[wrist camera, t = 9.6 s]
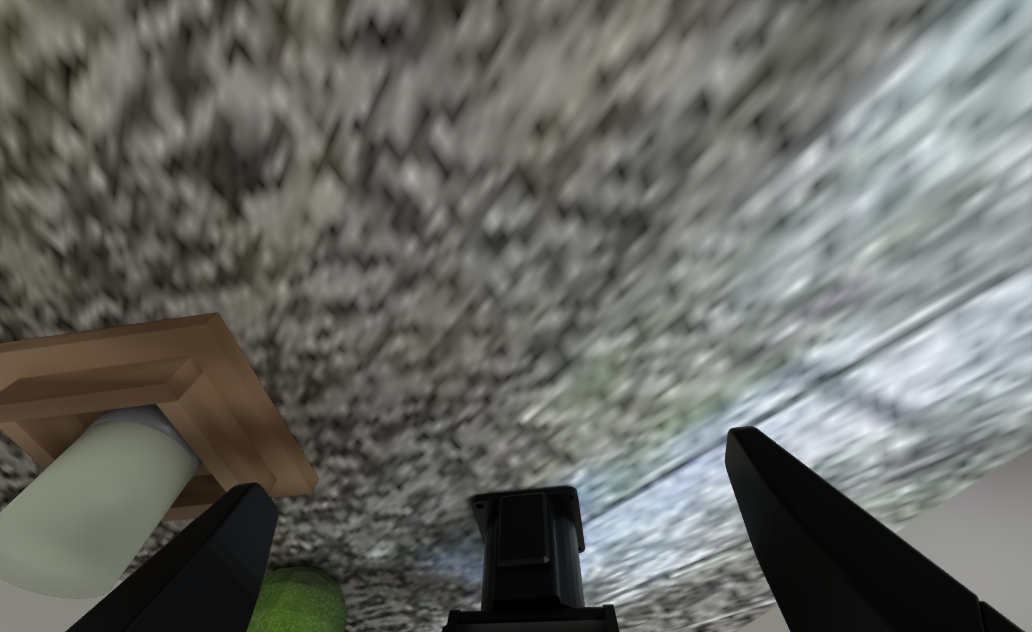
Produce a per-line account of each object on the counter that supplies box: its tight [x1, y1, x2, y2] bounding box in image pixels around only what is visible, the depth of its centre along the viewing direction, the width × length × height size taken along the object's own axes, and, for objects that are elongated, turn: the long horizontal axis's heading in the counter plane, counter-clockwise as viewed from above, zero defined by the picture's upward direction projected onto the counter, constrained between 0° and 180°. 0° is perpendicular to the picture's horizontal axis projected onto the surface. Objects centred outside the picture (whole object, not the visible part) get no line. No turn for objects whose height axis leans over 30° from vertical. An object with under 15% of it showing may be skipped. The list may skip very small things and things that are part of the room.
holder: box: [0, 313, 319, 521], centre depth 24 cm, size 12×12×3 cm
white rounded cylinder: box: [0, 404, 203, 599], centre depth 21 cm, size 5×5×7 cm
